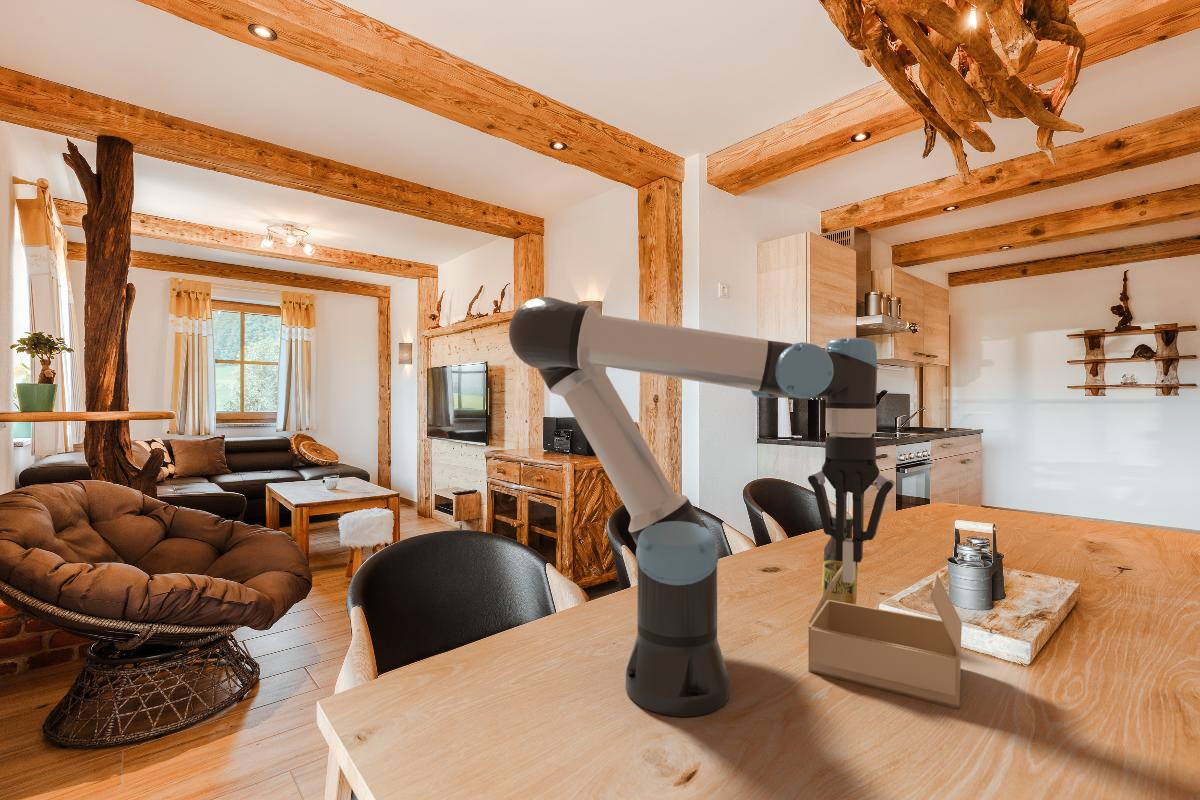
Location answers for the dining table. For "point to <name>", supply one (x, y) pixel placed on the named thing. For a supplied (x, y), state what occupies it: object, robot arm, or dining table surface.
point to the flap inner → (827, 593)
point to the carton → (886, 651)
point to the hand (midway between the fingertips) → (848, 580)
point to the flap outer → (947, 612)
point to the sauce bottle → (832, 566)
